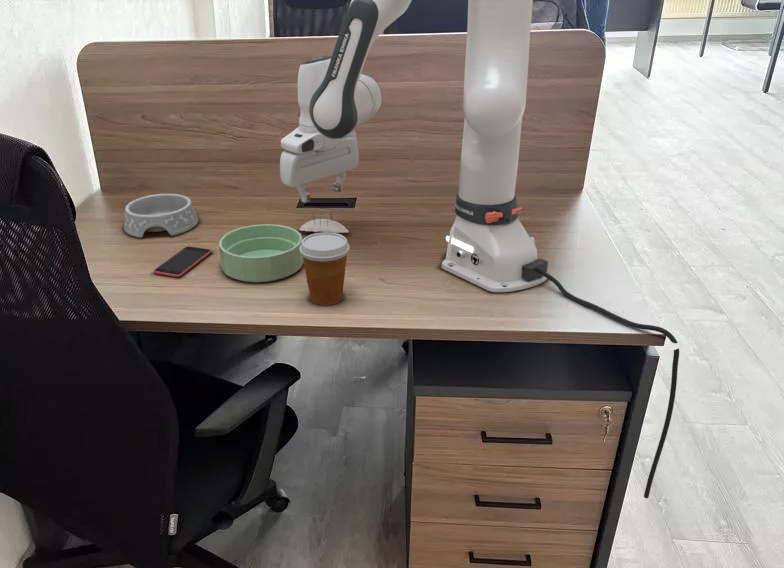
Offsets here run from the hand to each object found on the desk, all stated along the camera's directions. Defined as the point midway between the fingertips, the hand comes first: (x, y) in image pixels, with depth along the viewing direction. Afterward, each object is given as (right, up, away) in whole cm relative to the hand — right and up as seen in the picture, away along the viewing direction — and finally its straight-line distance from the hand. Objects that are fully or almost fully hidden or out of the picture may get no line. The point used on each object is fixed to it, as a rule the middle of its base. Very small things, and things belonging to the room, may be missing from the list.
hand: (321, 196), depth 166 cm
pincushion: (+1, -8, +5) cm, 9 cm away
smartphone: (-31, -16, -6) cm, 35 cm away
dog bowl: (-40, -4, +15) cm, 42 cm away
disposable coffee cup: (0, -25, -23) cm, 34 cm away
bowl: (-13, -17, -9) cm, 23 cm away
